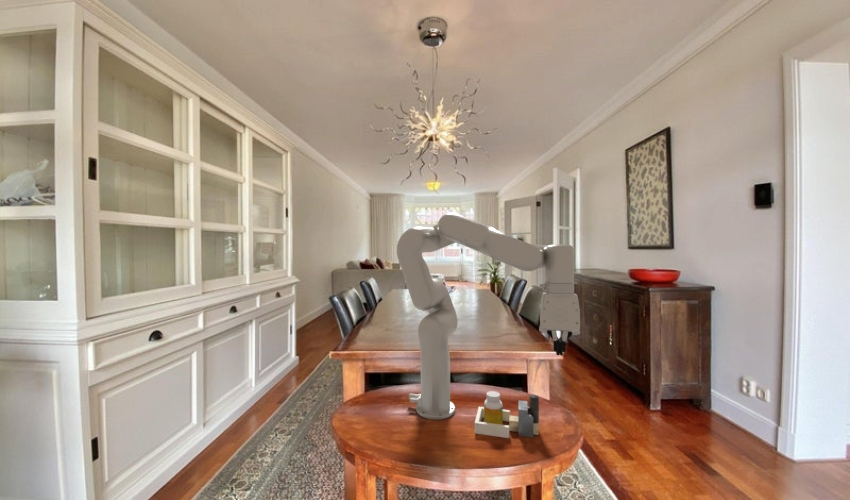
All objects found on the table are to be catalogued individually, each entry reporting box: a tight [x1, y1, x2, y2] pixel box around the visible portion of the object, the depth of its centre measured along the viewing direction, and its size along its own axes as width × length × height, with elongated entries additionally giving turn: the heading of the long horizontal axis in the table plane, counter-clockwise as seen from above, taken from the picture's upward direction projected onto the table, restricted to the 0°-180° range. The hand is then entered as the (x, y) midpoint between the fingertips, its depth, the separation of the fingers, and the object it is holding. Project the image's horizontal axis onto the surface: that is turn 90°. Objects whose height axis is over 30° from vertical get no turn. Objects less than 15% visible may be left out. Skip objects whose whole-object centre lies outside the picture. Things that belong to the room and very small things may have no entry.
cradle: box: [474, 406, 511, 439], centre depth 100 cm, size 10×10×3 cm
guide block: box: [517, 399, 534, 438], centre depth 97 cm, size 4×6×7 cm
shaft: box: [508, 394, 540, 436], centre depth 97 cm, size 8×3×10 cm, turn 74°
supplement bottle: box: [483, 390, 504, 425], centre depth 99 cm, size 5×5×10 cm
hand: (559, 353), depth 94 cm, fingers closed
